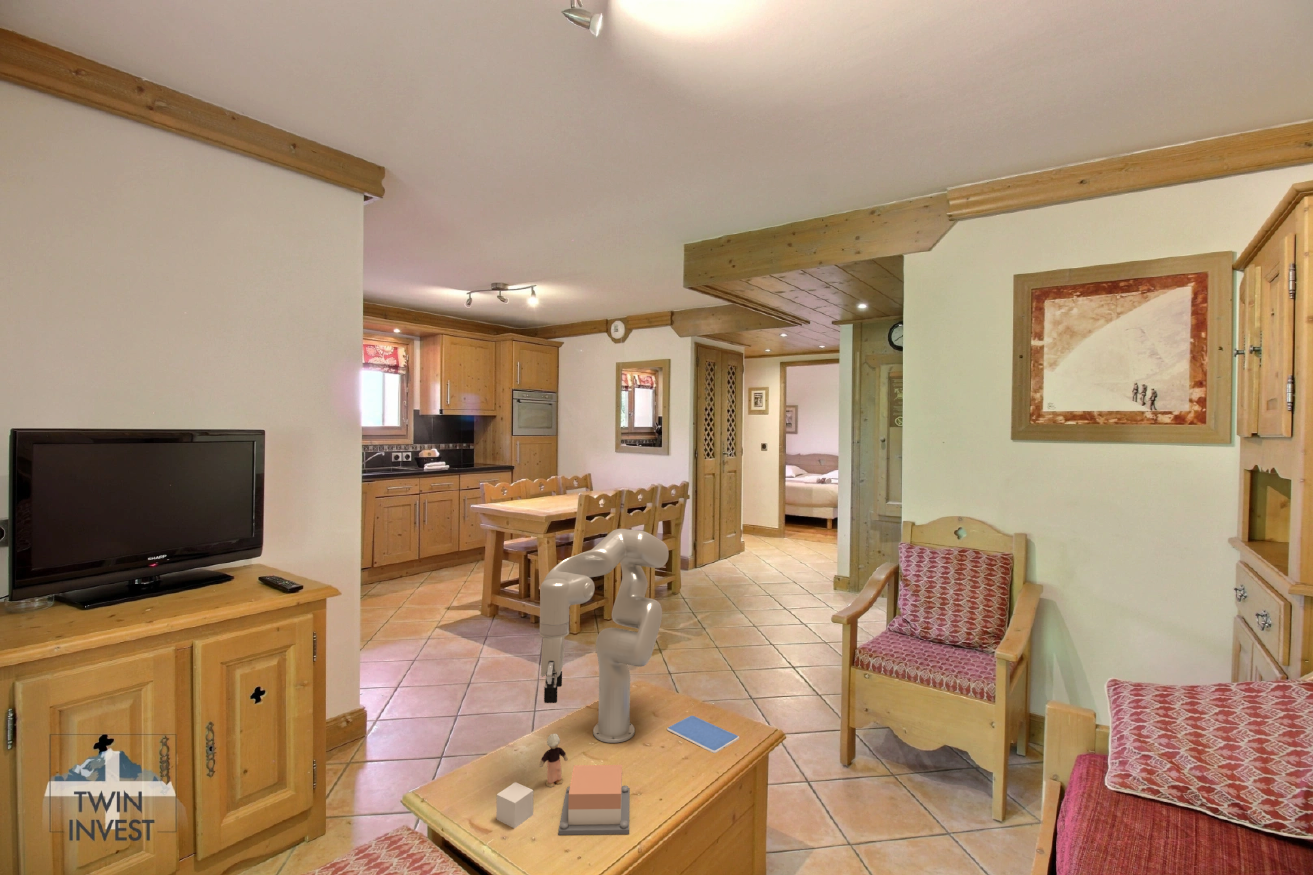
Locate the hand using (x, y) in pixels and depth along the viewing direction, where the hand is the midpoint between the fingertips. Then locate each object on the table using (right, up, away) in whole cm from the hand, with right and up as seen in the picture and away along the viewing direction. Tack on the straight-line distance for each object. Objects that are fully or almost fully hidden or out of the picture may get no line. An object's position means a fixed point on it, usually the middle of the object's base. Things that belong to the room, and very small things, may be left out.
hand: (553, 694), depth 154 cm
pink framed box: (+12, -24, -11) cm, 29 cm away
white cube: (-7, -24, -13) cm, 28 cm away
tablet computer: (+41, -25, +27) cm, 55 cm away
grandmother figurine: (0, -24, 0) cm, 24 cm away
